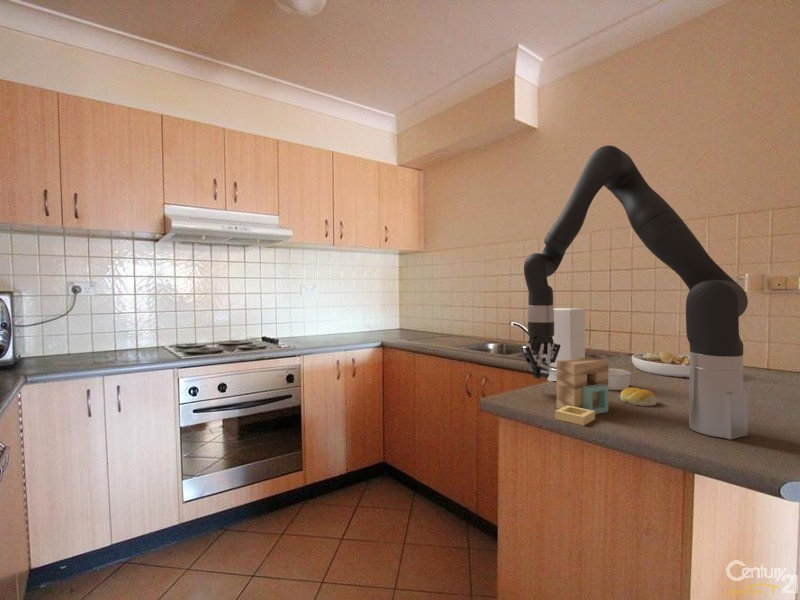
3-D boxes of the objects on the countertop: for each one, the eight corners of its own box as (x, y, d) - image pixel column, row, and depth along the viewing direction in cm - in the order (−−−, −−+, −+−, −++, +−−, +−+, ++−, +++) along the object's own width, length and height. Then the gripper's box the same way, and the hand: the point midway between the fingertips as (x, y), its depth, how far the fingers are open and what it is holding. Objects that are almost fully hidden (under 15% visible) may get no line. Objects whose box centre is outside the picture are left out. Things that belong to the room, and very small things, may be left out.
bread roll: (636, 397, 117) (636, 383, 117) (663, 405, 108) (663, 391, 108) (612, 399, 115) (612, 385, 115) (637, 408, 106) (637, 393, 106)
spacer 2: (608, 411, 103) (608, 385, 103) (588, 415, 100) (589, 388, 100) (601, 409, 105) (601, 383, 104) (582, 412, 102) (582, 386, 102)
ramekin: (610, 382, 136) (610, 366, 136) (639, 389, 125) (639, 372, 125) (584, 384, 132) (584, 369, 132) (613, 393, 122) (613, 375, 121)
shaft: (587, 383, 106) (587, 371, 106) (578, 385, 105) (578, 372, 105) (536, 370, 124) (536, 359, 124) (528, 371, 123) (528, 360, 123)
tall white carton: (571, 385, 131) (571, 309, 130) (547, 380, 138) (547, 308, 137) (585, 381, 136) (585, 308, 136) (561, 377, 143) (561, 307, 143)
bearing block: (608, 408, 106) (608, 360, 106) (574, 413, 101) (574, 364, 101) (589, 402, 111) (589, 356, 111) (556, 407, 107) (556, 360, 106)
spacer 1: (595, 419, 97) (595, 410, 97) (583, 425, 92) (583, 417, 92) (567, 412, 102) (567, 405, 102) (555, 419, 97) (555, 410, 97)
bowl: (620, 372, 153) (620, 351, 153) (645, 362, 174) (645, 344, 174) (719, 385, 131) (719, 361, 131) (734, 371, 152) (734, 351, 152)
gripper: (531, 322, 114) (531, 382, 114) (568, 320, 119) (568, 378, 119) (513, 320, 121) (514, 377, 121) (549, 318, 126) (549, 373, 126)
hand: (541, 377), depth 120 cm, fingers closed on shaft, 2 cm apart
